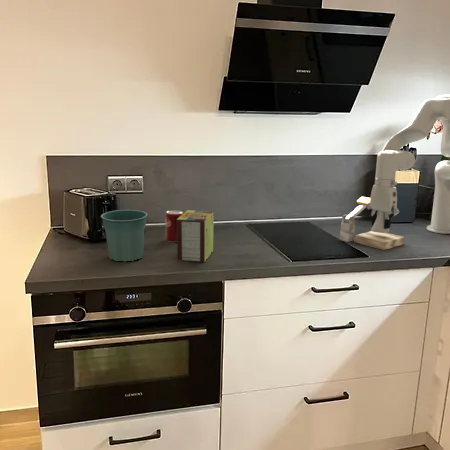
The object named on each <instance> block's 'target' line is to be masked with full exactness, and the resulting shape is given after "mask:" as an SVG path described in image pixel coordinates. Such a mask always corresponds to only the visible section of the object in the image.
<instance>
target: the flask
mask: <svg viewBox="0 0 450 450" xmlns="http://www.w3.org/2000/svg"><path fill="white" fill-rule="evenodd" d="M385 219H386V214H385V212H383V211H378V213H377V218H376V220H375V223H374V225H373V226H371V229H370V231H373V232H379V233H389V232H390V228H388V229H384V223H385Z"/></svg>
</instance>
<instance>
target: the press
mask: <svg viewBox="0 0 450 450" xmlns="http://www.w3.org/2000/svg"><path fill="white" fill-rule="evenodd" d="M348 215H349V214H342V215H341V216H342V218H341V222H340V230H339V231H340V233H339V241H342V242H346V243H350V242H353V241H354V243H357V244H359V245H364V246H367V247H371V248H375V249H377V250H378V249H379V250H383V251H386V250H389V249H392V248H397V247H398V246H403V245H405V236H403V235H397V234H393V233H389V232H388V233H379V232H373V231H372V230H370V231H366V232H363V233H359V234H355V228H356V227H355V225H356V223H355V216H350V217H349V222H346V221H345V218H346V217H347V216H348Z"/></svg>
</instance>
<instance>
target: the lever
mask: <svg viewBox="0 0 450 450" xmlns="http://www.w3.org/2000/svg"><path fill="white" fill-rule="evenodd" d="M370 198H371V197H366V196H361V197H359V198H358V199H357V200H356V204H359V205H358V206H356V207H355V208H354V210H353V211H350V213H349V214H347V215H348V216H347V217H346V218H345V221H346V222H349V217H350V216H355V217H357V216H358V215H359V214H361V212H362V211H364V210H365V209H367V207H366V205H367V204H368V203H369V202H370Z"/></svg>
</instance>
